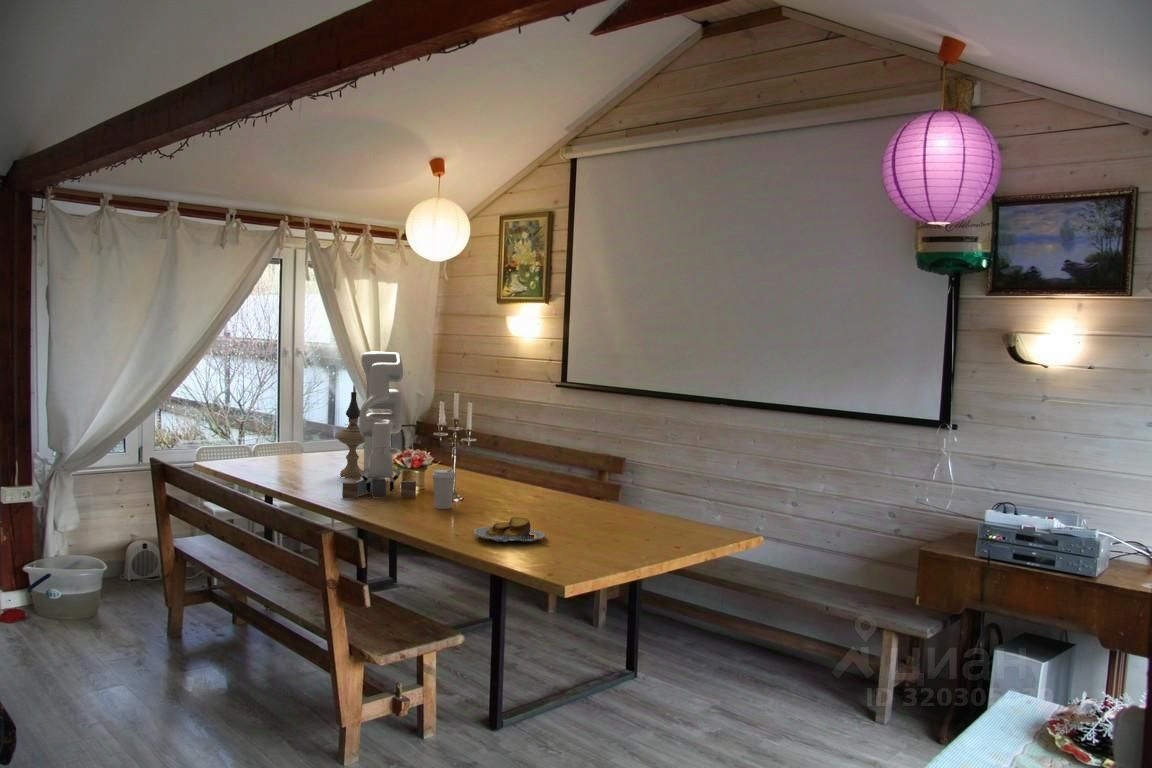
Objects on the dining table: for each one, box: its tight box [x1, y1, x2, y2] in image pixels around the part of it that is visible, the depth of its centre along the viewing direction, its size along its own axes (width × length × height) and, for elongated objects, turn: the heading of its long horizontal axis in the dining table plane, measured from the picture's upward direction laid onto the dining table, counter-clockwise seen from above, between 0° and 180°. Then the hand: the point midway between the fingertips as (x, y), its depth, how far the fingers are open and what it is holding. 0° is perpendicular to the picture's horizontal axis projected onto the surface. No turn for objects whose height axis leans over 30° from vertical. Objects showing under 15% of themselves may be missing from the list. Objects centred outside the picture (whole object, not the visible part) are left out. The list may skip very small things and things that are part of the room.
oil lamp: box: [336, 391, 364, 479], centre depth 407 cm, size 15×15×40 cm
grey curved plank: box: [355, 478, 374, 497], centre depth 371 cm, size 2×18×6 cm, turn 163°
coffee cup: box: [431, 468, 457, 510], centre depth 348 cm, size 10×10×15 cm
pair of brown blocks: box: [341, 480, 417, 499], centre depth 363 cm, size 2×30×6 cm, turn 108°
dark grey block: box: [371, 478, 387, 498], centre depth 366 cm, size 7×5×7 cm
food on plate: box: [472, 516, 547, 543], centre depth 303 cm, size 25×25×7 cm
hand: (380, 491), depth 368 cm, fingers open, 8 cm apart
